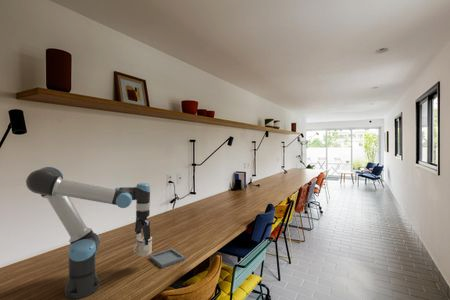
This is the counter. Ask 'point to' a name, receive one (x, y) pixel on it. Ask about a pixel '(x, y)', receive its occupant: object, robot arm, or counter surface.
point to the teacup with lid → (142, 247)
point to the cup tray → (167, 258)
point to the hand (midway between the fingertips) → (142, 247)
